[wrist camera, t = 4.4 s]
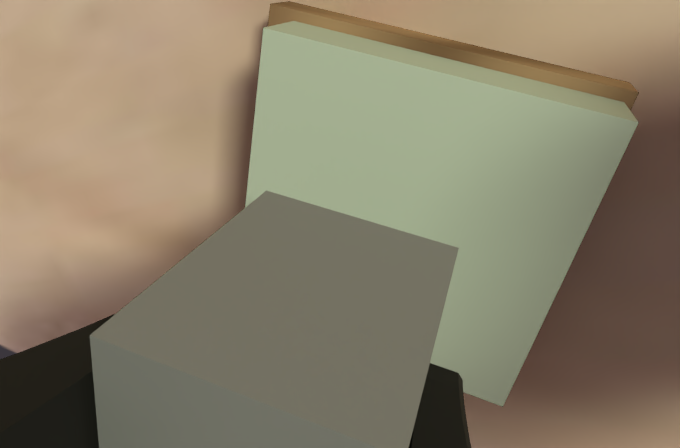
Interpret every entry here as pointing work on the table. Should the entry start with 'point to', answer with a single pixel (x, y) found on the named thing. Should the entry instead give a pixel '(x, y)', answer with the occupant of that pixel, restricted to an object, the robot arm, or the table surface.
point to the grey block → (276, 337)
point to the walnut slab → (455, 51)
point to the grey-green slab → (442, 174)
